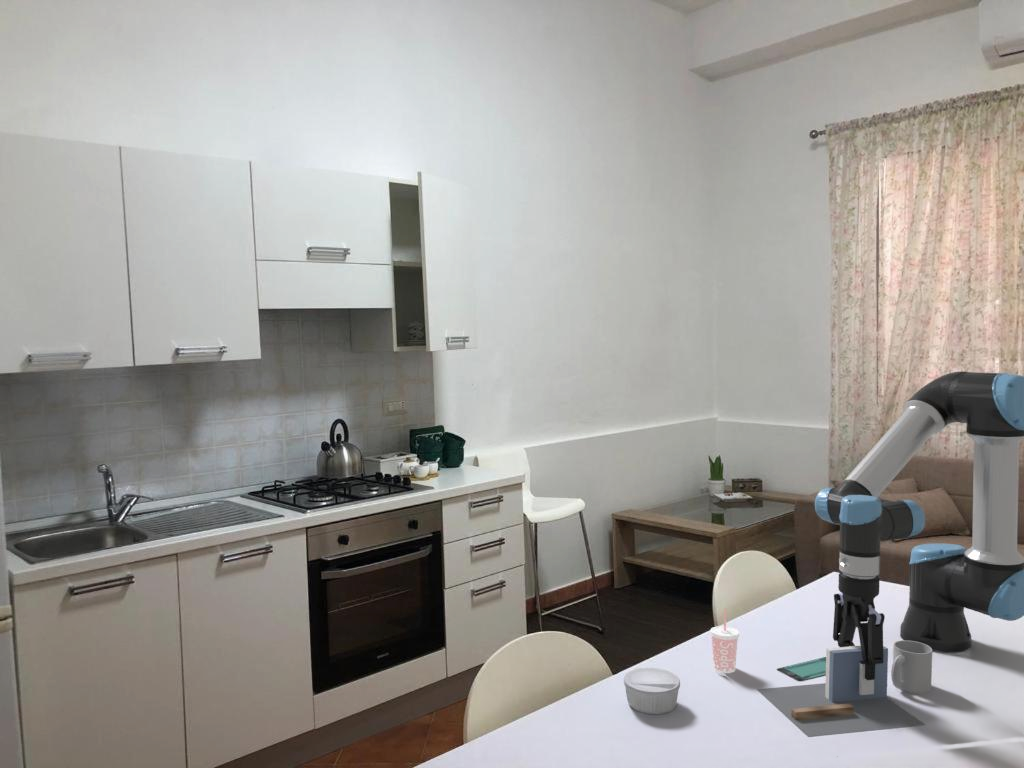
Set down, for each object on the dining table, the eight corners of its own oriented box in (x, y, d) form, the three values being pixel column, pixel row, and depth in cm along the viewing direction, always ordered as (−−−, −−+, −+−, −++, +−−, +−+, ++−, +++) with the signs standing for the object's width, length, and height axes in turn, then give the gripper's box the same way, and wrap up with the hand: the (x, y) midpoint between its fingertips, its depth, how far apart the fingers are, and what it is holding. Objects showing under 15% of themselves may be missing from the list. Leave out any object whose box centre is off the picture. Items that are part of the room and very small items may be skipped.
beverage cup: (706, 673, 178) (707, 610, 177) (713, 663, 184) (714, 602, 183) (735, 679, 175) (736, 615, 174) (741, 668, 181) (742, 606, 180)
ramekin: (645, 722, 156) (645, 695, 156) (612, 699, 166) (612, 674, 166) (691, 709, 162) (692, 683, 161) (656, 688, 172) (657, 663, 171)
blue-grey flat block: (879, 691, 168) (880, 644, 167) (886, 697, 165) (888, 648, 164) (825, 696, 165) (826, 648, 165) (832, 702, 163) (833, 653, 162)
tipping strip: (848, 711, 159) (848, 703, 159) (853, 714, 158) (853, 707, 158) (791, 716, 157) (791, 708, 157) (795, 720, 156) (795, 712, 156)
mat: (862, 682, 173) (862, 679, 173) (926, 727, 154) (926, 724, 154) (756, 692, 169) (756, 689, 169) (808, 739, 149) (808, 736, 149)
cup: (938, 691, 169) (939, 649, 168) (909, 703, 164) (910, 659, 163) (905, 678, 175) (907, 637, 175) (876, 689, 170) (877, 647, 169)
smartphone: (775, 668, 179) (826, 655, 185) (775, 673, 179) (826, 661, 185) (800, 681, 172) (852, 667, 179) (800, 687, 172) (852, 673, 179)
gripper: (815, 561, 172) (813, 668, 174) (870, 589, 154) (867, 709, 155) (848, 559, 174) (845, 665, 175) (907, 587, 155) (903, 706, 156)
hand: (856, 686), depth 165 cm, fingers open, 6 cm apart
